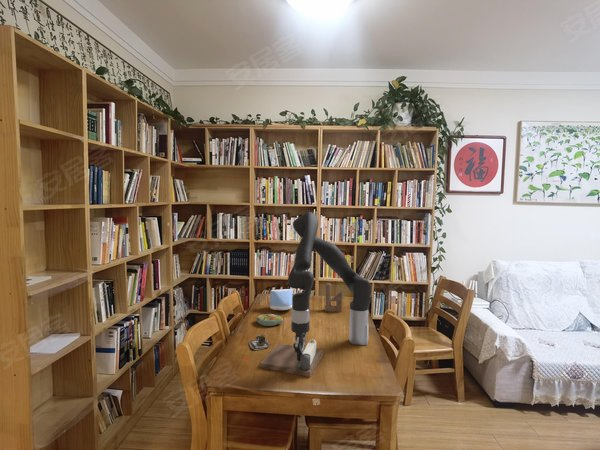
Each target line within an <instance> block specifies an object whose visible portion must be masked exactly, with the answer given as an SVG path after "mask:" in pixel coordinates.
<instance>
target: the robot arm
mask: <svg viewBox="0 0 600 450" xmlns="http://www.w3.org/2000/svg"><path fill="white" fill-rule="evenodd" d="M292 226H293V229H294V231H295V232H296V233H297V234H298V236H300V238H301V239H300V241H299V244H298V246H297V247H296V251H295V257H294V263H293V266H292V268H291V270H290V272H289V274H288V277H287V284H288V286H289V287H290V289H303V290H304V291H302V292H298V293H295V294H292V308H291V314H290V315H291V320H290V321H291V324H290V325H291V329H290V330H291V332H292V333H294V334H295V335H294V343H293V345H292V346H294V349H295V352H296V353H297V361H300V360H301V354H303V350H304V348H306V338H307V333H309V331H310V316H311V315H310V297H311V293H312V289H313V285H314V282H315V276H314V274H313V273H312V272H311V271H308V270H309V269H310V268H311V266H312V255H313V254H312V253H313V250H314V251H315V252H316V253H317V255H318V256H319V257H320V258H321V259H322V260H323V261H324V262H325V263H326V264H327V265H328V267H329V268H330V269H331V270H332V271H333V272H334V273H335V274H337V275H338V277H340V278H341V280H342V281H343V282H344V283H345V285H346V287H347V288H348V290H349V291H350V292H351V293H353V297H352V301H350V302H349V335H348V337H349V339H348V340H349V343H350V344H352V345H356V346H357V345H358V346H368V344H369V330H370V329H369V327H370V326H369V325H370V323H369V306H370V304H371V294H372V288H371V287H372V286H371V282H370V281H369V280H368V279H367V278H365V277H362V276H360V275H359V274H358V273H357V272H356V271H355V270H354V269H353V268H352V267H351V266H350V265H349V261H347V258H346V256H345V254H343V252H342V251H341V249H339V248H338V246H337V245H335V244H333V243H332V242H330V241H327V240H324V239H323V238H320V237H318V236H317V232H318V229H319V219H318V217H317V215H316V214H315V213H314V212H312V211H307V212H304V213H303V214H302V215H300V216H299V217H297V218H295V219H294V220H293V222H292Z"/></svg>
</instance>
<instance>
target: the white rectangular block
mask: <svg viewBox="0 0 600 450" xmlns="http://www.w3.org/2000/svg"><path fill="white" fill-rule="evenodd" d="M304 348H305V350H304V352H303V354H301V360H300V368H301V369H302V370H309V369H310V365H311V363H312V361H313V358H314V356H315V354H316V349H317V340H315V338H310V339H309V340H308V342H307V344H306V345H305V347H304Z"/></svg>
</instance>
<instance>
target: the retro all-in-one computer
mask: <svg viewBox="0 0 600 450" xmlns="http://www.w3.org/2000/svg"><path fill="white" fill-rule="evenodd" d="M292 297H293V288H285V289H283V288H282V289H271V290H270V298H269V299H270V301H269V308H270V309H271V310H273V311H287V310H292Z"/></svg>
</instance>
